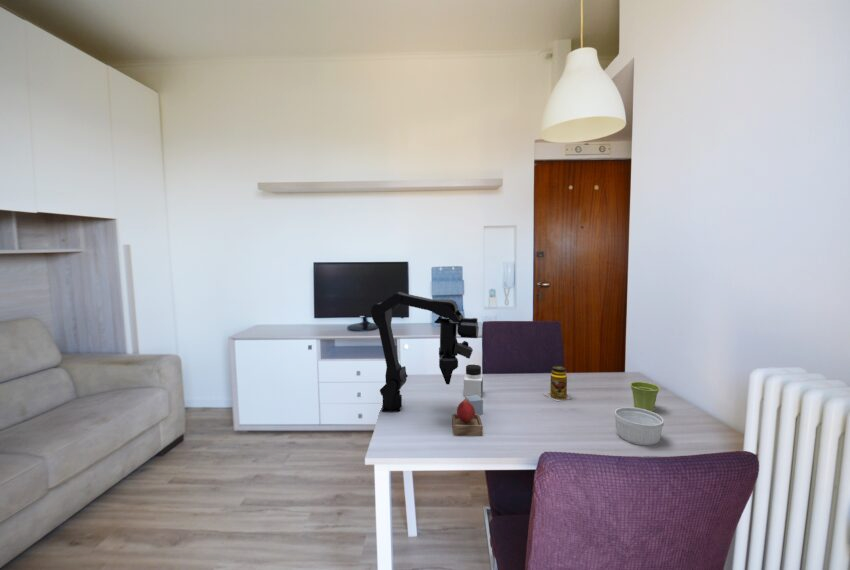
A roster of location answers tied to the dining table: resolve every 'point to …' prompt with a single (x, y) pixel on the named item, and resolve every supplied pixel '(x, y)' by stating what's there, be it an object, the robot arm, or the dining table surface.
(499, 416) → the dining table surface
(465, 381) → the medicine bottle
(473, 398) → the slate cube
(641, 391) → the plant pot
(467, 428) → the wooden square tray
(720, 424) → the dining table surface
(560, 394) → the condiment
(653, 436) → the ramekin
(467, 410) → the onion
